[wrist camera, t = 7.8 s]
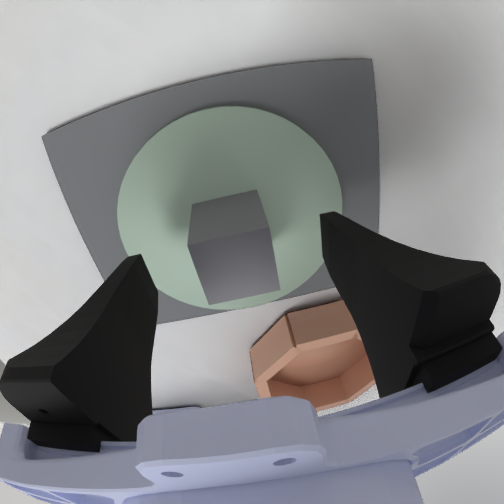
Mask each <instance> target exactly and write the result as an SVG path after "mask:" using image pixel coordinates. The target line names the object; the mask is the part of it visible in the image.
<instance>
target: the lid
mask: <svg viewBox="0 0 504 504" xmlns="http://www.w3.org/2000/svg"><path fill="white" fill-rule="evenodd" d="M332 211H335V212H337V213H339V214H341V215H342V194H341V187H340V184H339V180H338V176H337V174H336V172H335V169H334V167H333V165H332V163H331V161H330V160H329V158H328V156H327V155H326V153H325V152H324V150H323V149H322V148H321V147H320V146H319V145H318V144H317V142H316V141H315V140H314V139H313V138H312V137H310V136H309V135H308V134H307V133H306V132H304V131H303V130H302V129H301V128H299V127H298V126H297V125H295V124H294V123H292V122H290V121H289V120H287V119H285V118H283V117H281V116H279V115H276V114H274V113H272V112H269V111H265V110H262V109H258V108H254V107H246V106H217V107H211V108H205V109H201V110H198V111H195V112H192V113H189V114H187V115H184V116H182V117H180V118H178V119H176V120H174V121H172V122H171V123H169V124H168V125H166V126H165V127H163V128H162V129H161V130H159V131H158V132H157V133H156V134H155V135H154V136H153V137H152V138H150V139H149V140H148V141H147V143H146V144H145V145H144V146H143V147H142V149H141V150H140V151H139V152H138V154H137V155H136V156H135V157H134V159H133V161H132V163H131V164H130V166H129V168H128V169H127V171H126V174H125V176H124V179H123V181H122V184H121V188H120V192H119V196H118V206H117V219H118V228H119V232H120V237H121V240H122V243H123V245H124V248H125V250H126V252H127V254H128V256H133V255H137V254H141V255H142V257H143V259H144V262H145V264H146V266H147V268H148V271H149V273H150V275H151V277H152V279H153V282H154V284H155V286H156V288H157V289H159V290H161V291H162V292H164V293H165V294H167V295H169V296H171V297H173V298H175V299H177V300H179V301H182V302H184V303H187V304H190V305H194V306H198V307H202V308H209V309H218V310H234V309H244V308H250V307H255V306H259V305H262V304H266V303H268V302H271V301H274V300H276V299H278V298H280V297H282V296H284V295H287V294H288V293H290V292H292V291H293V290H295V289H296V288H298V287H299V286H300V285H302V284H303V283H304V282H306V281H307V280H308V279H309V278H310V277H311V276H312V275H313V274H314V273H315V272H316V271H317V270H318V269H319V267H320V266H321V265H322V264H323V262H324V259H323V257H322V242H321V228H320V215H319V214H322V213H327V212H332Z"/></svg>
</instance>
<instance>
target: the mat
mask: <svg viewBox="0 0 504 504" xmlns="http://www.w3.org/2000/svg"><path fill="white" fill-rule="evenodd" d="M217 106H246V107H254V108H258V109H262V110H265V111H269V112H272V113H274V114H276V115H279V116H281V117H283V118H285V119H287V120H289V121H290V122H292V123H294V124H295V125H297V126H298V127H299V128H301V129H302V130H303V131H304V132H306V133H307V134H308V135H309V136H310V137H312V138H313V139H314V140H315V141H316V142H317V144H318V145H319V146H320V147H321V148H322V149H323V150H324V152H325V153H326V155H327V156H328V158H329V160H330V161H331V163H332V165H333V167H334V169H335V172H336V174H337V176H338V180H339V184H340V187H341V194H342V215H343V216H345V217H347V218H349V219H351V220H353V221H354V222H356V223H358V224H360V225H362V226H364V227H366V228H367V229H369V230H371V231H373V232H375V233H377V234H378V225H379V138H378V119H377V104H376V92H375V82H374V72H373V63H372V59H343V60H325V61H312V62H302V63H292V64H284V65H276V66H269V67H262V68H256V69H250V70H244V71H239V72H233V73H228V74H223V75H219V76H214V77H209V78H205V79H201V80H197V81H192V82H188V83H185V84H181V85H177V86H173V87H170V88H166V89H163V90H159V91H156V92H153V93H149V94H146V95H143V96H140V97H137V98H134V99H131V100H128V101H125V102H122V103H119V104H116V105H114V106H111V107H108V108H106V109H103V110H100V111H98V112H95V113H93V114H90V115H88V116H85V117H83V118H81V119H78V120H76V121H74V122H71V123H69V124H67V125H64V126H62V127H60V128H58V129H56V130H54V131H51V132H49V133H47V134H45V135H43V136H42V140H43V143H44V146H45V149H46V151H47V154H48V157H49V160H50V163H51V165H52V168H53V171H54V173H55V176H56V178H57V181H58V183H59V186H60V188H61V191H62V193H63V196H64V198H65V200H66V203H67V205H68V207H69V210H70V212H71V214H72V216H73V219H74V221H75V223H76V225H77V227H78V230H79V232H80V234H81V236H82V238H83V240H84V242H85V244H86V246H87V248H88V250H89V252H90V254H91V256H92V258H93V260H94V262H95V264H96V266H97V268H98V270H99V272H100V274H101V276H102V277H103V279H104V281H105V280H106V279H107V278H108V277H109V276H110V275H111V274H112V272H113V271H114V270H115V269H116V268H117V267H118V266H119V265H120V264H121V262H122V261H123V260H124V259H126V258H127V257H128V254H127V252H126V250H125V248H124V245H123V243H122V240H121V237H120V232H119V228H118V219H117V206H118V196H119V192H120V188H121V184H122V181H123V179H124V176H125V174H126V171H127V169H128V168H129V166H130V164H131V163H132V161H133V159H134V157H135V156H136V155H137V154H138V152H139V151H140V150H141V149H142V147H143V146H144V145H145V144H146V143H147V141H148V140H149V139H150V138H152V137H153V136H154V135H155V134H156V133H157V132H158V131H159V130H161V129H162V128H163V127H165V126H166V125H168V124H169V123H171V122H172V121H174V120H176V119H178V118H180V117H182V116H184V115H187V114H189V113H192V112H195V111H198V110H201V109H205V108H211V107H217ZM334 287H336V286H335V285H334V283H333V281H332V279H331V277H330V275H329V272H328V270H327V267H326V265H325V262H323V264H322V265H321V266H320V267H319V269H318V270H317V271H316V272H315V273H314V274H313V275H312V276H311V277H310V278H309V279H308V280H307V281H306V282H304V283H303V284H302V285H300V286H299V287H298V288H296V289H295V290H293V291H292V292H290V293H288V294H287V295H284V296H282V297H280V298H278V299H276V300H274V301H278V300H283V299H287V298H292V297H296V296H300V295H305V294H309V293H313V292H317V291H321V290H326V289H330V288H334ZM157 290H158V317H157V324H162V323H168V322H174V321H179V320H185V319H190V318H196V317H201V316H206V315H211V314H216V313H221V312H226V311H231V310H218V309H209V308H202V307H198V306H194V305H190V304H187V303H184V302H182V301H179V300H177V299H175V298H173V297H171V296H169V295H167V294H165V293H164V292H162V291H161V290H159V289H157ZM274 301H271V302H274ZM268 303H269V302H268ZM234 310H236V309H234Z"/></svg>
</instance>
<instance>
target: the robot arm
mask: <svg viewBox="0 0 504 504" xmlns="http://www.w3.org/2000/svg"><path fill="white" fill-rule="evenodd" d="M319 215H320V228H321V242H322V257H323V259H324V262H325V265H326V267H327V270H328V272H329V275H330V277H331V279H332V281H333V283H334V285H335V286H336V288H337V290H338V292H339V294H340V296H341V297H342V299H343V301H344V303H345V305H346V306H347V308H348V310H349V312H350V314H351V316H352V318H353V320H354V322H355V324H356V326H357V329H358V332H359V334H360V337H361V340H362V342H363V345H364V348H365V351H366V354H367V357H368V360H369V363H370V366H371V369H372V372H373V375H374V379H375V382H376V386H377V389H378V393H379V397H380V399H377V400H374V401H371V402H368V403H365V404H362V405H359V406H356V407H352V408H349V409H346V410H342V411H339V412H335V413H332V414H328V415H324V416H320V417H318V416H317V413H316V409H315V408H314V406H313V405H312V404H311V403H310V401H308V400H305V399H301V398H297V397H292V396H278V397H266V398H261V399H255V400H250V401H244V402H238V403H232V404H226V405H219V406H212V407H205V408H199V407H186V408H176V409H166V410H153V411H152V398H151V360H152V351H153V344H154V337H155V331H156V324H157V317H158V290H157V288H156V286H155V284H154V282H153V279H152V277H151V275H150V273H149V271H148V268H147V266H146V264H145V262H144V259H143V257H142V255H141V254H137V255H133V256H128V257H127V258H126V259H124V260H123V261H122V262H121V264H120V265H119V266H118V267H117V268H116V269H115V270H114V271H113V272H112V274H111V275H110V276H109V277H108V278H107V279H106V280H105V282H104V283H103V284H102V285H101V286H100V287H99V288H98V289H97V291H96V292H95V293H94V294H93V295H92V296H91V297H90V298H89V299H88V300H87V301H86V303H85V304H84V305H83V306H82V307H81V308H80V309H79V310H78V311H76V312H75V313H74V314H73V315H72V316H71V317H70V318H69V319H68V320H67V321H65V322H64V323H63V324H62V325H61V326H59V327H58V328H57V329H56V330H54V331H53V332H52V333H51V334H49V335H48V336H47V337H45V338H44V339H42V340H41V341H40V342H38V343H37V344H35V345H34V346H32V347H30V348H29V349H27V350H25V351H24V352H22V353H20V354H18V355H17V356H15V357H13V358H11V359H9V360H8V362H7V364H6V367H5V369H4V372H3V374H2V377H1V379H0V391H1V393H2V395H3V396H4V397H5V399H6V400H7V401H8V402H9V403H10V404H11V405H12V406H14V407H15V408H16V409H17V410H18V411H19V412H21V413H22V414H23V415H24V416H25V417H27V418H28V419H29V420H30V421H31V423H30V427H29V428H28V427H26V426H24V425H21V424H14V423H7V422H6V423H4V426H3V430H2V434H1V437H0V481H2V482H4V483H5V484H7V485H9V486H11V487H13V488H15V489H17V490H19V491H21V492H23V493H25V494H27V495H29V496H31V497H33V498H35V499H37V500H41V501H44V502H48V503H51V504H424V502H423V499H422V497H421V493H420V491H419V488H418V485H417V482H416V479H415V477H416V476H418V475H420V474H422V473H424V472H426V471H428V470H430V469H432V468H434V467H436V466H438V465H440V464H442V463H444V462H445V461H447V460H449V459H451V458H453V457H454V456H456V455H457V454H459V453H461V452H463V451H464V450H466V449H468V448H469V447H471V446H472V445H474V444H476V443H477V442H479V441H480V440H482V439H483V438H485V437H486V436H488V435H489V434H491V433H492V432H494V431H495V430H497V429H498V428H500V427H501V426H502V425H504V332H502V333H501V334H500V335H499V336H498V337H497V338H496V337H495V336H494V334H493V333H492V331H493V330H494V325H493V324H492V322H491V321H490V320H489V319H490V317H491V315H492V312H493V310H494V308H495V305H496V303H497V301H498V298H499V295H500V289H501V282H500V279H499V277H498V276H497V275H496V274H495V273H494V272H493V271H492V270H491V269H490V268H489V267H488V266H487V265H486V264H485V263H484V262H479V261H470V260H461V259H455V258H450V257H444V256H440V255H435V254H432V253H428V252H424V251H421V250H417V249H414V248H411V247H409V246H406V245H403V244H400V243H398V242H395V241H393V240H390V239H388V238H386V237H384V236H382V235H380V234H377V233H375V232H373V231H371V230H369V229H367V228H366V227H364V226H362V225H360V224H358V223H356V222H354V221H353V220H351V219H349V218H347V217H345V216H343V215H341V214H339V213H337V212H335V211H332V212H327V213H322V214H319Z"/></svg>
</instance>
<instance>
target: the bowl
mask: <svg viewBox="0 0 504 504" xmlns="http://www.w3.org/2000/svg"><path fill="white" fill-rule="evenodd" d="M287 315H288V316H285V315H284V316H283V317H282V318H281V319H280V320H279V321H278V322H277V323H276V324H275V325H274V326H273V327H272V328H271V329H270V330H269V331H268V332H267V333H266V334H265V335H264V336H263V337H262V338H261V339H260V340H259V341H258V342H257V343H256V344H255V345H254V346H253V347H252V348H251V349H250V357H251V364H252V371H253V378H254V383H255V386H256V389H257V392H258V394H259V397H260V399H261V398H266V397H278V396H292V397H297V398H301V399H305V400H308V401H310V403H311V404H312V405H313V406H314V408H315V409H316V412H317V411H321V410H325V409H328V408H332V407H336V406H339V405H343V404H346V403H349V401H353V400H354V399H356V398H357V397H358V396H360V395H361V394H363V393H364V392H365V391H367V390H368V389H369V388H371V387H372V386H373V385H375V384H376V382H375V379H374V375H373V372H372V369H371V366H370V363H369V360H368V357H367V354H366V351H365V348H364V345H363V342H362V340H361V337H360V334H359V332H358V329H357V326H356V324H355V322H354V320H353V318H352V316H351V314H350V312H349V310H348V308H347V306H346V305H345V303H344V301H343V300H341V301H337V302H333V303H329V304H325V305H321V306H317V307H313V308H308V309H304V310H300V311H296V312H291V313H287Z"/></svg>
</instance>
